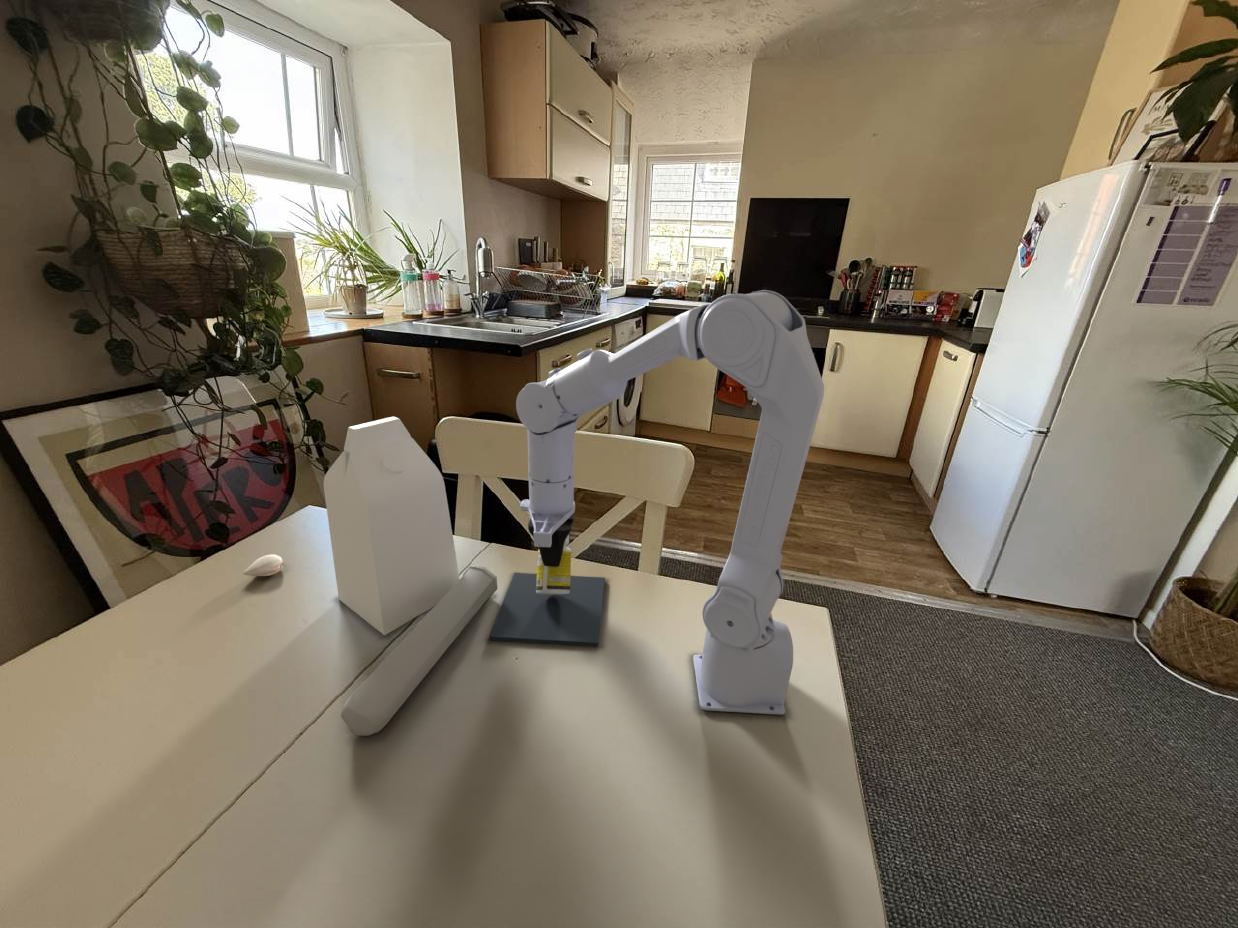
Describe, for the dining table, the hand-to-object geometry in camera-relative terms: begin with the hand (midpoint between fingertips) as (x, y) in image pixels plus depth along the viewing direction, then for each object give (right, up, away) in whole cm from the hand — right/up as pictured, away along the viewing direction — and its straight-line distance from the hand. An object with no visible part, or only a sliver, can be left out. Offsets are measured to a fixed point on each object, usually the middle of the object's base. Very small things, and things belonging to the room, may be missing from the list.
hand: (552, 563), depth 68 cm
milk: (-22, -5, +3) cm, 23 cm away
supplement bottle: (0, -5, +2) cm, 5 cm away
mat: (0, -7, +2) cm, 7 cm away
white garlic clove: (-44, -3, +6) cm, 45 cm away
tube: (-14, -10, -7) cm, 19 cm away
